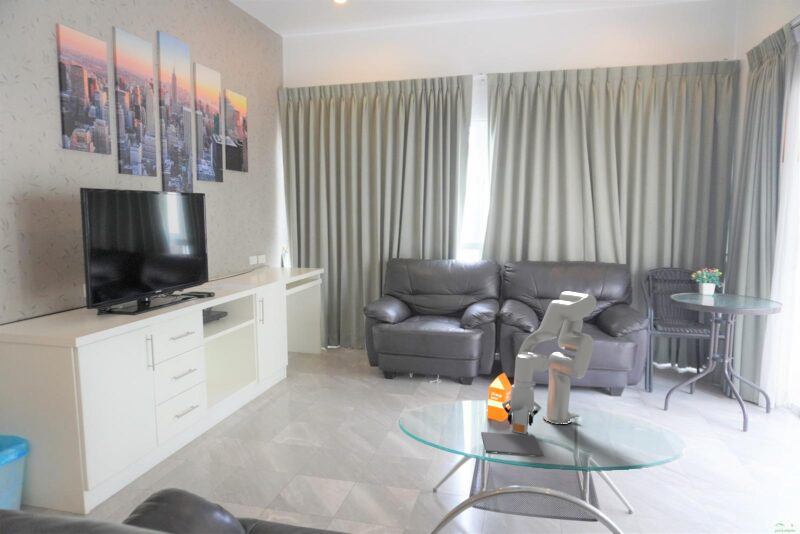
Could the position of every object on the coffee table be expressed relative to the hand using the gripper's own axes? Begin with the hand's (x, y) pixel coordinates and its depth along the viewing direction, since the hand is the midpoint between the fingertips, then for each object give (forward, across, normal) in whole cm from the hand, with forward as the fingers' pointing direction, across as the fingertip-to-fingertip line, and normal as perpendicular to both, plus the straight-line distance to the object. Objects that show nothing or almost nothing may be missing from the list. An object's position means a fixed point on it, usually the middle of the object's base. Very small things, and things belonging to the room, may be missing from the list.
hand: (520, 423), depth 215 cm
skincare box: (+4, 0, 0) cm, 4 cm away
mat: (+3, +6, +15) cm, 16 cm away
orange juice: (+4, +7, -16) cm, 18 cm away
